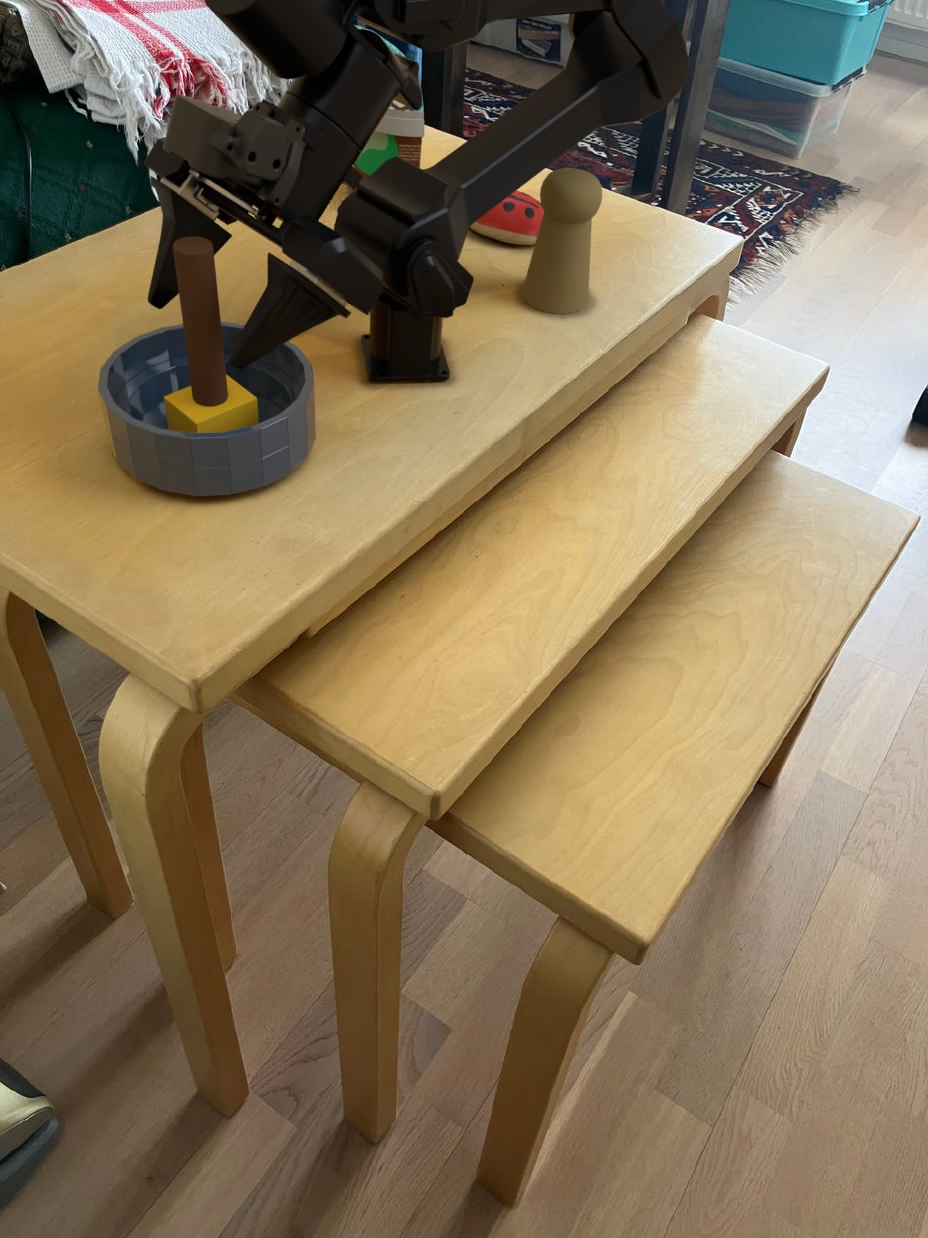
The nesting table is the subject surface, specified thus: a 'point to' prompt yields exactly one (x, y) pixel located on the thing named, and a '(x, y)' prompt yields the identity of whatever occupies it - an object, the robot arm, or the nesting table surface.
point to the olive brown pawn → (563, 242)
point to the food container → (393, 139)
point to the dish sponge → (205, 351)
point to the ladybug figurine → (512, 220)
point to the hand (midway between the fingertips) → (192, 334)
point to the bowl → (205, 458)
